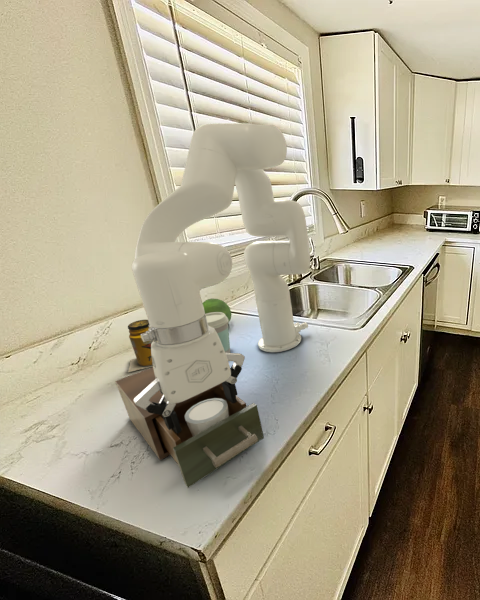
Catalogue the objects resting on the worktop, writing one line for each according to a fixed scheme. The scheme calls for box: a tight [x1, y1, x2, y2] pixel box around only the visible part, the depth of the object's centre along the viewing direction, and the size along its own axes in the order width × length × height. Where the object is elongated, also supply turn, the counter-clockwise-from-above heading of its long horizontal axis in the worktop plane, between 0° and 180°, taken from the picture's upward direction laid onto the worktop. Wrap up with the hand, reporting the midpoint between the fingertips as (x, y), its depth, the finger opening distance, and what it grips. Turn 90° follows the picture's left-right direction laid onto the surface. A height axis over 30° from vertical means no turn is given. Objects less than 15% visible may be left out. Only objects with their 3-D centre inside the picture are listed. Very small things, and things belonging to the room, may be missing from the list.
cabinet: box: [114, 367, 222, 461], centre depth 68 cm, size 18×15×10 cm
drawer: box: [152, 386, 265, 488], centre depth 60 cm, size 22×14×8 cm, turn 52°
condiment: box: [127, 319, 154, 373], centre depth 89 cm, size 7×8×12 cm
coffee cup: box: [205, 312, 231, 353], centre depth 93 cm, size 8×8×12 cm
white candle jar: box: [185, 398, 229, 436], centre depth 60 cm, size 7×7×7 cm
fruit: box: [202, 298, 233, 323], centre depth 112 cm, size 15×10×10 cm, turn 32°
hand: (205, 413), depth 59 cm, fingers open, 9 cm apart
